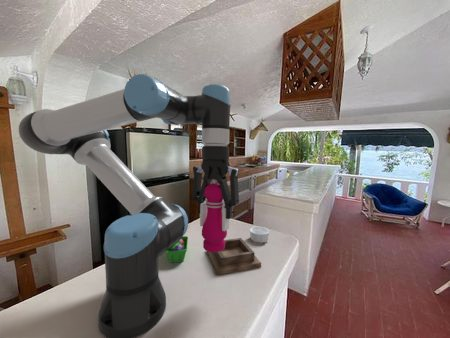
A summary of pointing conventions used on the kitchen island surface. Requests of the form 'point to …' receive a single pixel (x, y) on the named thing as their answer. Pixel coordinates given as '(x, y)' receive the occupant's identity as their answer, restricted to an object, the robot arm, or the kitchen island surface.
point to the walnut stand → (234, 257)
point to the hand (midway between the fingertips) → (214, 226)
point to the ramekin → (259, 234)
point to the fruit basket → (178, 250)
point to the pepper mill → (213, 219)
